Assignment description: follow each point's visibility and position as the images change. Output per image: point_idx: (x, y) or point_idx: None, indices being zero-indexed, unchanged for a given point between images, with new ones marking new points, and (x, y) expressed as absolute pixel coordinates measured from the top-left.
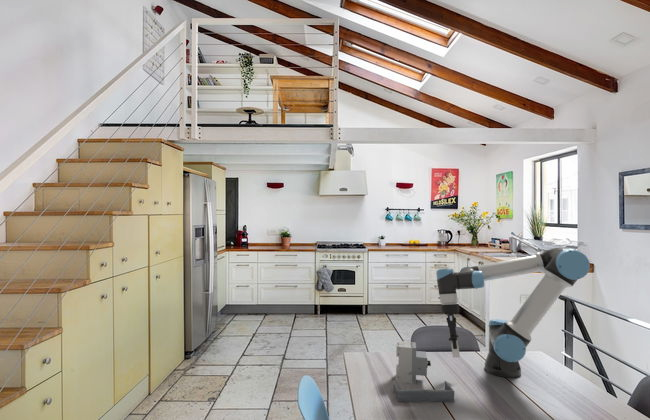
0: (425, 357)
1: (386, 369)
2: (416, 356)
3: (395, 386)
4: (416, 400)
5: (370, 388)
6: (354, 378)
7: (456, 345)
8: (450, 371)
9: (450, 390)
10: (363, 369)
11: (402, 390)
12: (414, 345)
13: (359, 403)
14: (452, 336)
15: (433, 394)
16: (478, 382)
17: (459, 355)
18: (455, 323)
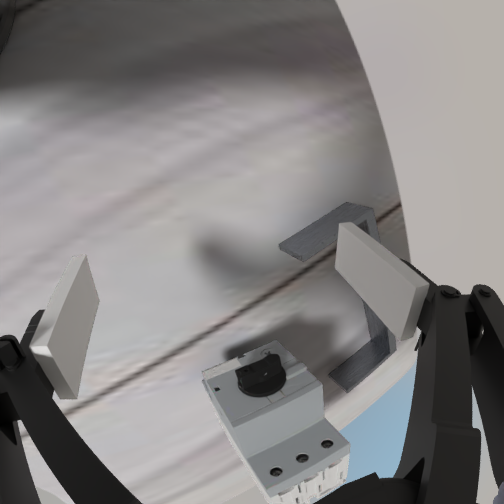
0: (316, 392)
1: (195, 457)
2: (318, 419)
3: (373, 369)
4: None
5: (330, 414)
6: None
7: (418, 271)
8: (49, 273)
9: (370, 222)
10: (230, 481)
11: (393, 344)
12: (317, 467)
13: (389, 385)
14: (483, 328)
15: None
16: (120, 116)
17: (357, 227)
18: (477, 458)
